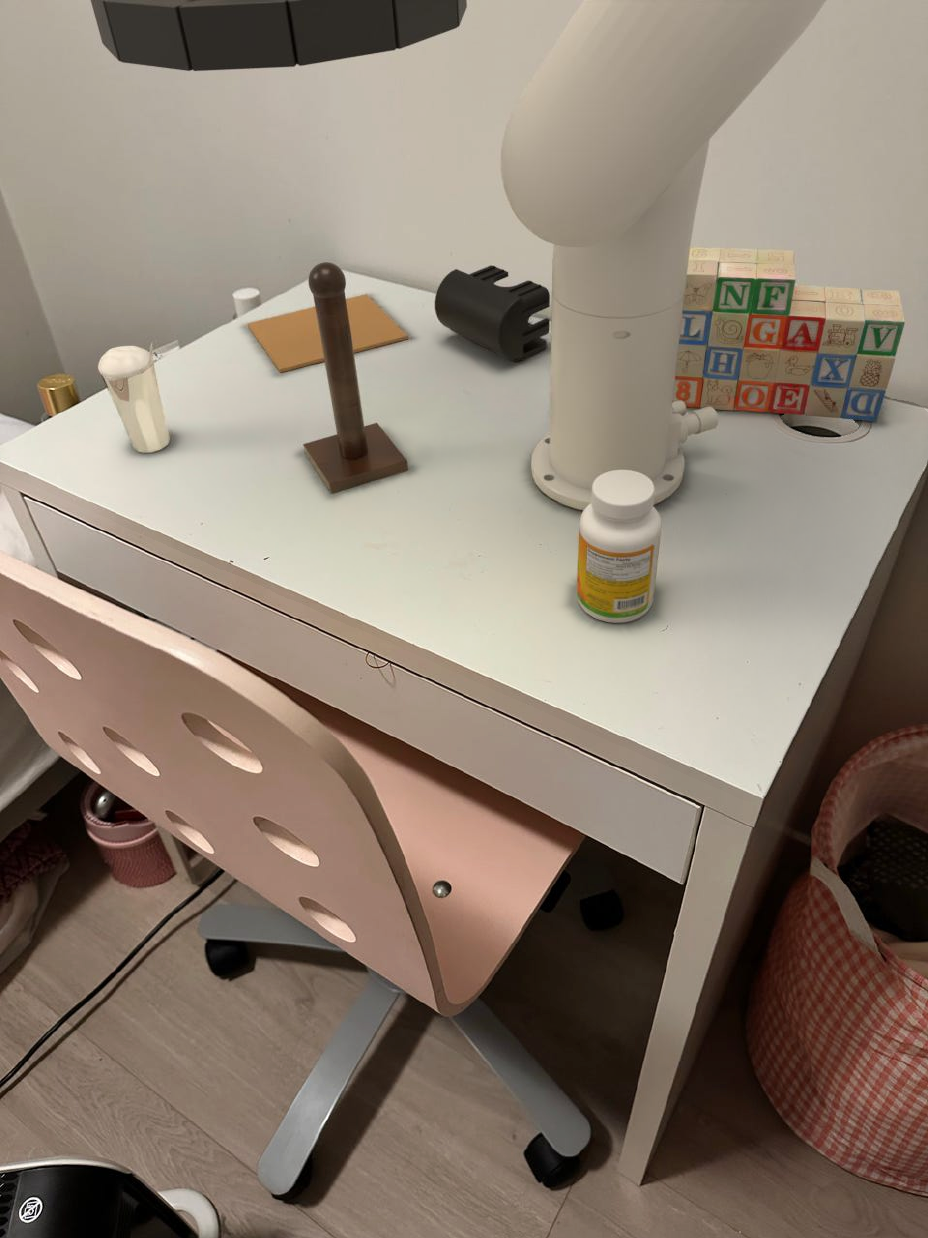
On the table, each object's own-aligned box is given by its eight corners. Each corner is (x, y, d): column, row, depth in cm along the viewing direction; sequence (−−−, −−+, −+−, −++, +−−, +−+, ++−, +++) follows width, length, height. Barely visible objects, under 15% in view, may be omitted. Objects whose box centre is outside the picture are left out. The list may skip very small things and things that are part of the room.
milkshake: (172, 459, 83) (139, 356, 76) (117, 455, 84) (80, 352, 77) (193, 432, 86) (163, 330, 79) (140, 428, 87) (106, 327, 80)
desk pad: (367, 297, 105) (366, 293, 105) (408, 338, 97) (407, 335, 97) (248, 326, 101) (247, 323, 101) (280, 372, 93) (279, 369, 93)
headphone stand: (378, 432, 84) (352, 238, 72) (408, 469, 79) (385, 269, 68) (304, 453, 82) (265, 258, 70) (331, 493, 77) (293, 291, 66)
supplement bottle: (597, 566, 69) (604, 454, 62) (665, 589, 66) (679, 476, 60) (563, 609, 66) (565, 496, 59) (633, 635, 63) (644, 520, 57)
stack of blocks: (873, 388, 85) (910, 254, 77) (877, 424, 81) (917, 285, 72) (638, 369, 90) (649, 241, 81) (630, 402, 85) (640, 270, 77)
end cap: (436, 341, 96) (430, 277, 92) (487, 318, 100) (484, 256, 95) (500, 374, 91) (498, 307, 86) (552, 349, 94) (553, 283, 89)
